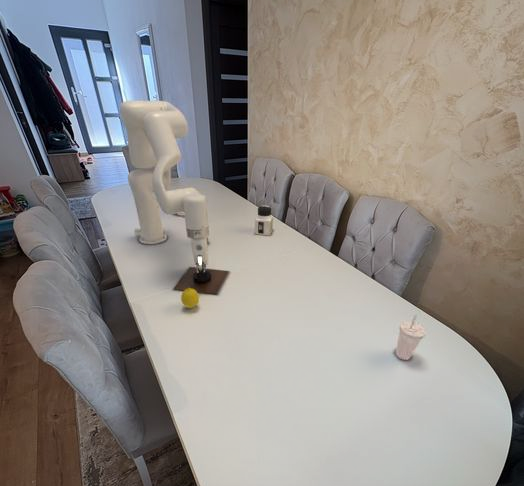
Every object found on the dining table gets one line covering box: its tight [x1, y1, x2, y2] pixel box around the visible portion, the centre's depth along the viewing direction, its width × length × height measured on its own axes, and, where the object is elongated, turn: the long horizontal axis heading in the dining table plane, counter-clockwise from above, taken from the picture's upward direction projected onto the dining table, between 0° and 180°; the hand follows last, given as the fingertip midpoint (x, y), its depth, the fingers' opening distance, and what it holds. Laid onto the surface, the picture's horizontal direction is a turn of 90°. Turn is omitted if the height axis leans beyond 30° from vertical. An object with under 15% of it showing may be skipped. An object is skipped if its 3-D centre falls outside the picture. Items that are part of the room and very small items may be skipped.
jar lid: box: [193, 271, 211, 284], centre depth 115 cm, size 7×7×2 cm
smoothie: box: [395, 314, 427, 361], centre depth 81 cm, size 6×6×14 cm
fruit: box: [180, 288, 200, 309], centre depth 99 cm, size 6×6×8 cm
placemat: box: [173, 266, 230, 296], centre depth 115 cm, size 16×16×1 cm
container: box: [254, 205, 274, 236], centre depth 152 cm, size 8×8×13 cm
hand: (201, 274), depth 114 cm, fingers open, 9 cm apart
